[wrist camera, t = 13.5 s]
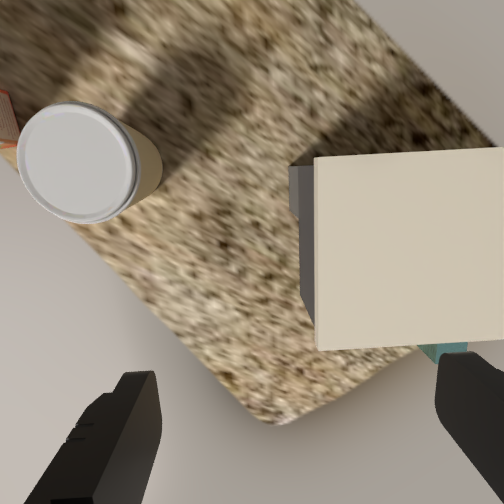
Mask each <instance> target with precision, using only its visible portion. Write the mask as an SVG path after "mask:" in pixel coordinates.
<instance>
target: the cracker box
mask: <svg viewBox="0 0 504 504" xmlns="http://www.w3.org/2000/svg"><path fill="white" fill-rule="evenodd" d="M20 135H21V134H20V130H19V127H18V124H17V121H16V117H15V114H14V111H13V107H12V104H11V101H10V98H9V94H8V92H7V91H4V90H1V89H0V149H3V148H9V147H15V146H17V145H18V141H19V137H20Z"/></svg>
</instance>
